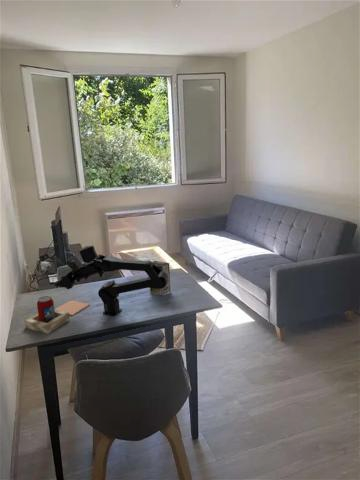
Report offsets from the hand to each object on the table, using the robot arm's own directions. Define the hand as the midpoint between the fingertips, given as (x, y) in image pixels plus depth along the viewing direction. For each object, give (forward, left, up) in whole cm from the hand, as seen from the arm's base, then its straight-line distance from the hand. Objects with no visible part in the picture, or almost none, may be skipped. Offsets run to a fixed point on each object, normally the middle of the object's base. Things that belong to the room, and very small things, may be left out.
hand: (59, 280), depth 165 cm
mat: (-2, -4, -15) cm, 16 cm away
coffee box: (-33, -36, -16) cm, 51 cm away
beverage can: (-3, +12, -16) cm, 20 cm away
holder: (-3, +12, -15) cm, 20 cm away
